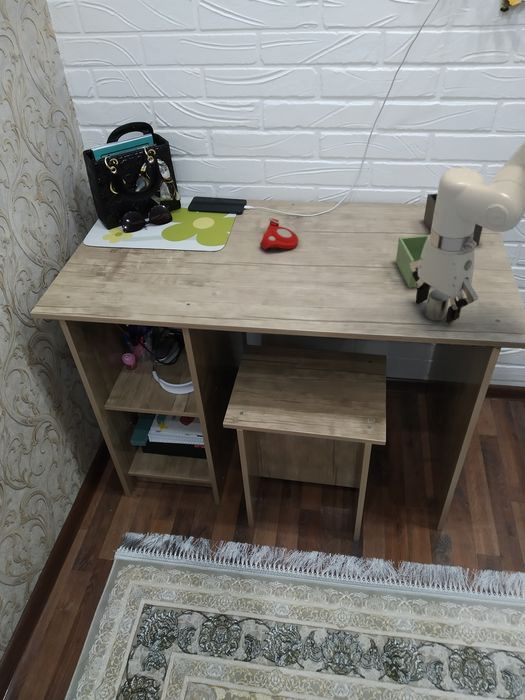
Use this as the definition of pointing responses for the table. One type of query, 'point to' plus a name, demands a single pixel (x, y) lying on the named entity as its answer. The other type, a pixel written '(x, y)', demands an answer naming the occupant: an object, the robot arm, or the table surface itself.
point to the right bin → (430, 213)
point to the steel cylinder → (437, 305)
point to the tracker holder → (278, 236)
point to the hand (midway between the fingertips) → (436, 310)
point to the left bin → (409, 255)
